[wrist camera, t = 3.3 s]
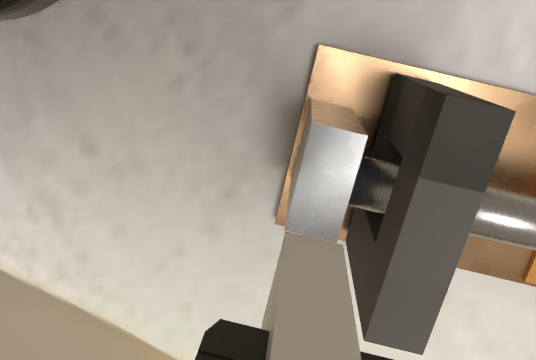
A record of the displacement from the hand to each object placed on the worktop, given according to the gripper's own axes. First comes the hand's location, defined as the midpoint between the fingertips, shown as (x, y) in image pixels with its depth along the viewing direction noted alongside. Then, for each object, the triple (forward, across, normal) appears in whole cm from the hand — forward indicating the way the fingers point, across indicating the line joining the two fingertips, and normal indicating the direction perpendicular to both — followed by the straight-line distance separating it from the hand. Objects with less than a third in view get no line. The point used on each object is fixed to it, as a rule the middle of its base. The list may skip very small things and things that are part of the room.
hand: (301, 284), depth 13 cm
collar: (+16, +5, 0) cm, 16 cm away
